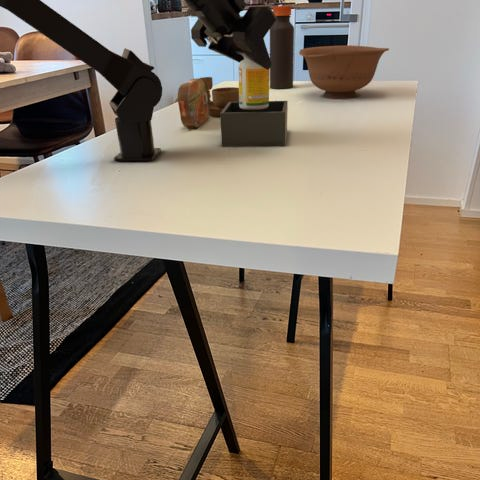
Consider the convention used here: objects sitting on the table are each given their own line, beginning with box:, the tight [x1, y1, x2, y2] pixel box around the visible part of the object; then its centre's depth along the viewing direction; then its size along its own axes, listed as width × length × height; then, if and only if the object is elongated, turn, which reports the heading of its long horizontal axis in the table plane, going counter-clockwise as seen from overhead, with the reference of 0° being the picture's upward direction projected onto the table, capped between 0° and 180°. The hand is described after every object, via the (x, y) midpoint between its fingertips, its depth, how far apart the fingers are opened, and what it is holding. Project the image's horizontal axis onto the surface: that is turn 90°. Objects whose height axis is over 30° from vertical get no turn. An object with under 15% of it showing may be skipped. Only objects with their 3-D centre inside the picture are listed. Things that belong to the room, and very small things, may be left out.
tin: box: [177, 77, 210, 129], centre depth 100 cm, size 15×3×8 cm, turn 169°
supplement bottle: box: [238, 56, 270, 110], centre depth 84 cm, size 5×5×10 cm
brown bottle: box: [269, 5, 295, 90], centre depth 135 cm, size 7×7×20 cm
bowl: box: [298, 44, 390, 99], centre depth 122 cm, size 22×22×11 cm
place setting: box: [202, 76, 239, 117], centre depth 113 cm, size 18×20×6 cm
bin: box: [219, 100, 289, 147], centre depth 88 cm, size 11×11×6 cm
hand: (260, 66), depth 83 cm, fingers closed on supplement bottle, 5 cm apart
